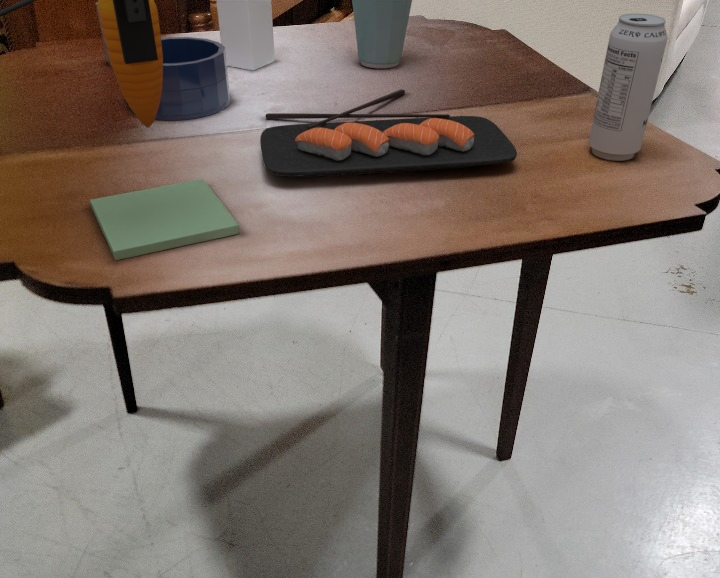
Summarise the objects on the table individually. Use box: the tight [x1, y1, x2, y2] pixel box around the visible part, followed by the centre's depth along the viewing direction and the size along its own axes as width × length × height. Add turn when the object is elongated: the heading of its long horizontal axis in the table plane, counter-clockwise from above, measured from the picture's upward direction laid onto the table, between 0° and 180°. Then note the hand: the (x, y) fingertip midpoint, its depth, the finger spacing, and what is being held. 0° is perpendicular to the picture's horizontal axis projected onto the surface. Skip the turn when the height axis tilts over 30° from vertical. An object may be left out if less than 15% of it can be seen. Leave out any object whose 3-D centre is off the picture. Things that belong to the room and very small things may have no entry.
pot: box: [129, 36, 231, 121], centre depth 99 cm, size 14×14×7 cm
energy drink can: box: [588, 12, 669, 162], centre depth 83 cm, size 6×6×15 cm
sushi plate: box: [259, 88, 518, 178], centre depth 91 cm, size 29×30×4 cm
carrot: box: [96, 0, 163, 128], centre depth 63 cm, size 5×5×15 cm
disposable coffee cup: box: [351, 0, 413, 69], centre depth 112 cm, size 11×11×15 cm
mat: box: [89, 178, 240, 261], centre depth 73 cm, size 12×12×1 cm
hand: (134, 52), depth 64 cm, fingers closed on carrot, 5 cm apart
